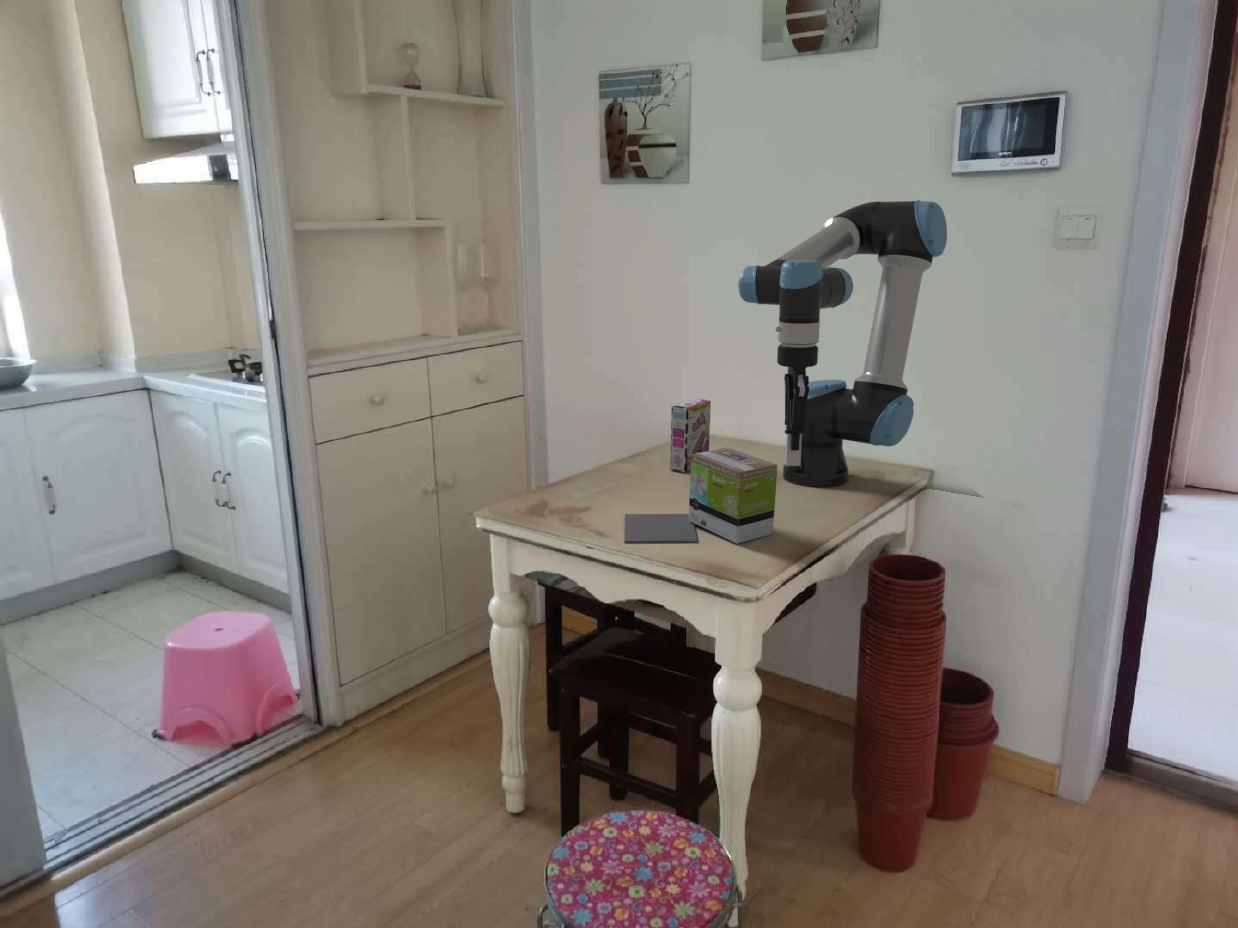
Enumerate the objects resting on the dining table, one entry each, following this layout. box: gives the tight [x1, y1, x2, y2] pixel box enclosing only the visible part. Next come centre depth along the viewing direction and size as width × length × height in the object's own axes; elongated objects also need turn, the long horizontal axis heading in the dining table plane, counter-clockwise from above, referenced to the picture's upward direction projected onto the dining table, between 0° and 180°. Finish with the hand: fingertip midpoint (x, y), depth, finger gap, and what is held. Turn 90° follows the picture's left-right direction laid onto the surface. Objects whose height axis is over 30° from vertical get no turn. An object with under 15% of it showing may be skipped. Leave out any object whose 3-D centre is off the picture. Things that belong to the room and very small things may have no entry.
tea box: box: [688, 446, 778, 545], centre depth 180 cm, size 15×10×15 cm, turn 35°
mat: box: [623, 513, 698, 544], centre depth 183 cm, size 14×16×1 cm
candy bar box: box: [669, 398, 712, 474], centre depth 224 cm, size 11×5×16 cm, turn 144°
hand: (792, 464), depth 178 cm, fingers closed
